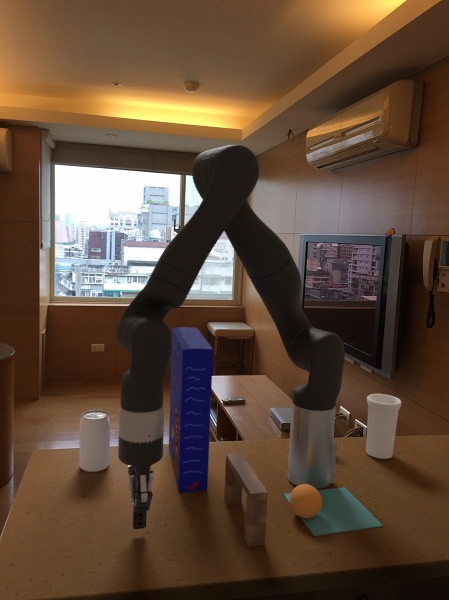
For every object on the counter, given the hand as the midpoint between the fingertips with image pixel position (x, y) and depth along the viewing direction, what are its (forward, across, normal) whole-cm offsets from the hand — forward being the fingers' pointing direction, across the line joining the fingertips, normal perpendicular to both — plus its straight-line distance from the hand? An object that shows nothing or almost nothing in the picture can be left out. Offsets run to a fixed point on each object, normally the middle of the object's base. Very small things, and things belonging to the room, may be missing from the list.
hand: (139, 526), depth 84 cm
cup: (+2, +20, -61) cm, 64 cm away
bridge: (+2, 0, -19) cm, 19 cm away
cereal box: (+2, +23, -13) cm, 26 cm away
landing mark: (+2, 0, -37) cm, 37 cm away
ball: (-2, -1, -31) cm, 31 cm away
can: (+2, +27, +7) cm, 28 cm away
